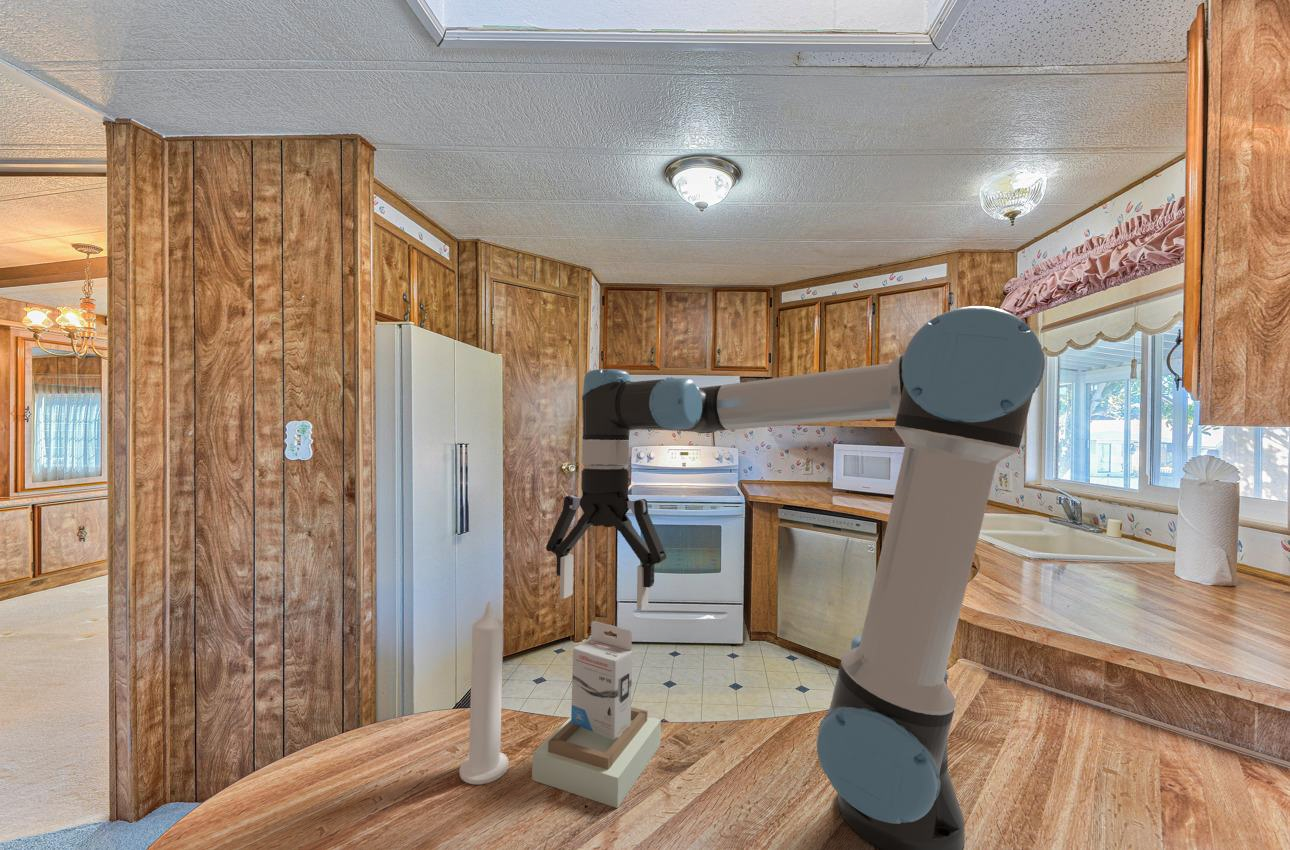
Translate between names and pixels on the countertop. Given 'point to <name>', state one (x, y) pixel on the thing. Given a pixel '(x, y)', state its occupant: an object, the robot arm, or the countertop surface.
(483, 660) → the candle
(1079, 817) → the countertop surface
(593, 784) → the display stand
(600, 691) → the ink box
